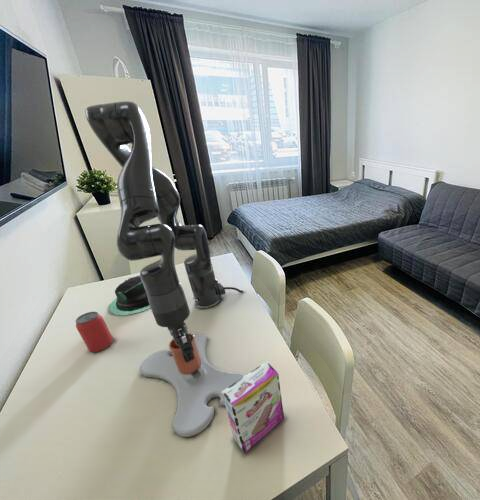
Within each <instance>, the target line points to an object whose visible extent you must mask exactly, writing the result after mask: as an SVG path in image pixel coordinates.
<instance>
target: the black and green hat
mask: <svg viewBox="0 0 480 500" xmlns="http://www.w3.org/2000/svg"><path fill="white" fill-rule="evenodd" d="M114 294H115V296H116V298H115V299H114V300H113V301H112V302H111V303H110V306H109V312H110V313H111V314H113V315H116V316H128V315H133V314H139V313H141V312H144V311H147V310H148V309H151V307H150V305H149V302H148V297H147V293H146V291H145V288H144V285H143V283H142V280H141V277H140V275H136V276H133V277H128V279H125V280H124V281H123V282H121V283H119V284H118V285H117V286H116V288H115V290H114Z"/></svg>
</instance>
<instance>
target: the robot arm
mask: <svg viewBox="0 0 480 500" xmlns="http://www.w3.org/2000/svg"><path fill="white" fill-rule="evenodd" d="M84 110H85V111H84V113H85V118H86V121H87V123H88V126H89V127H90V128H91V130H92V132H93V134H94V135H95V136H96V137H97V139H98V140H99V141H100V143H101V144H102V146H103V147H104V148H105V149H106V150H107V151H108V153H109V154H110V155H111V156H112V157H113V158H114V160H115V161H116V162H117V163H118V164H119V166H120V167H121V170H120V172H119V175H118V178H117V183H116V188H117V195H118V200H119V205H120V221H119V227H118V230H117V236H116V248H117V251H118V253H119V254H120V256H121V257H123V259H125V260H127V261H132V262H133V261H140V260H144V259H149V258H150V259H151V258H155V257H160V256H161V257H160V259H158V260H156V261H154V262H151V263H149V264H147V265H146V266H144V267H142V268H141V269H140V272H139V276H140V277H141V280H142V283H143V285H144V288H145V291H146V293H147V297H148V302H149V305H150V307H151V308H150V310H151V312H152V315H153V317H154V320H155V323H156V324H157V326H158V327H161V328H167V330H168V332H169V335H170V336H171V337H172V339H174V341H175V344H176V345H177V346H179V347H180V350H181V351H180V352H182V355H183V357H184V360H185V362H186V363H188V362H190V361H192V360H193V359H194V355H193V352H192V351H194V350H193V349H194V348H193V346H192V343H191V340H190V339H191V338H190V335H189V333H190V332H189V331H188V329H189V327H188V324H187V323H186V320H187V319H188V318H189V317H190V314H191V310H190V307H189V304H188V301H187V297H186V294H185V291H184V289H183V286H182V285H181V283H180V279H179V276H178V273H177V269H176V264H175V263H176V262H175V249H176V250H178V251H195V253H194V254H192V255H190V256H188V257H186V258H185V259H184V261H183V265H184V268H185V272H186V275H187V279H188V282H189V285H190V289H191V292H192V299H193V300H194V303H195V306H196V307H197V308H199V309H209V308H212V307H215V306H216V305H218V304H219V303H220V302H221V301H223V298H222V297H223V295H226V294H227V292H226V290H233V291H237V292H238V293H242V294H243V293H244V290H241V289H239V288H237V287H234V286H223V285H222V284H221V283H220V282H219V281H218V280H217V278H216V275H215V271H214V268H213V263H212V259H211V251H210V245H209V240H208V236H207V231H206V229H205V227H204V226H203V225H202V224H181V223H180V222H179V221H178V219H177V214H178V212H179V209H180V205H181V196H180V193H179V192H178V190H177V188H176V186H175V184H174V182H173V180H172V179H171V177H169V176H168V175H167V174H166V173H164V172H163V171H162V170H160V169H158V168H156V167H155V166H153V153H152V151H153V149H152V136H151V129H150V126H149V125H150V124H149V123H148V120H147V118H146V116H145V113H144V112H143V110H142V109H141V108H140V106H138V105H137V103H135V102H134V101H130V100H125V101H124V100H123V101H116V102H108V103H100V104H93V105H89V106H87V107H86V109H84ZM128 145H131V148H129V146H128ZM156 218H157V220H158V221H159V223H154V224H147V225H142V224H144V223H147V222H149V221H152V220H153V219H156ZM141 225H142V226H141ZM176 338H177V339H178V340H177V339H176Z"/></svg>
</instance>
